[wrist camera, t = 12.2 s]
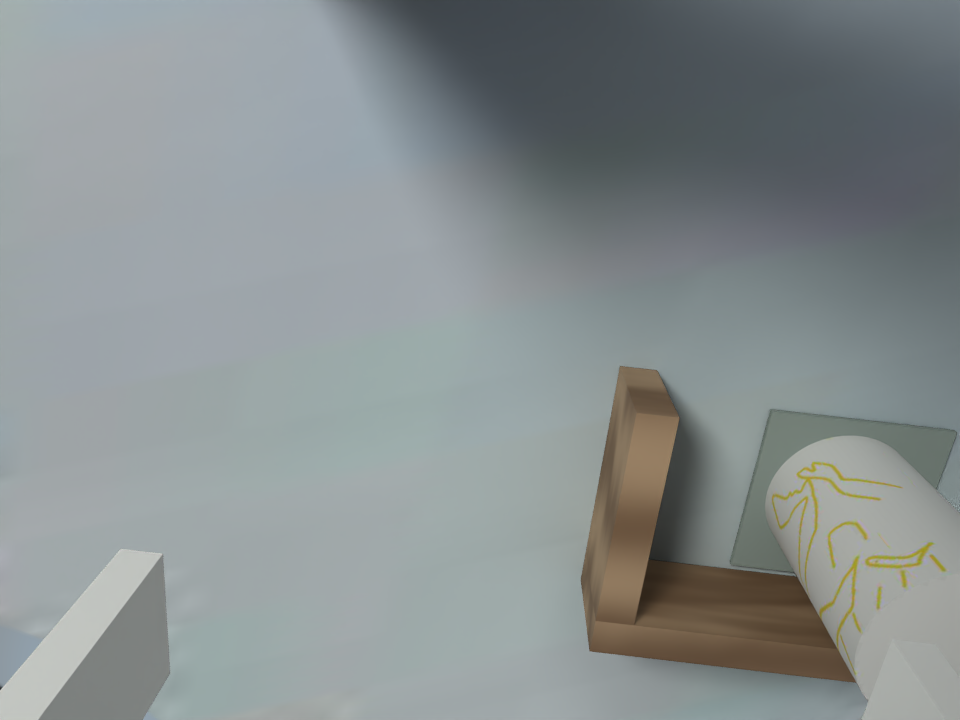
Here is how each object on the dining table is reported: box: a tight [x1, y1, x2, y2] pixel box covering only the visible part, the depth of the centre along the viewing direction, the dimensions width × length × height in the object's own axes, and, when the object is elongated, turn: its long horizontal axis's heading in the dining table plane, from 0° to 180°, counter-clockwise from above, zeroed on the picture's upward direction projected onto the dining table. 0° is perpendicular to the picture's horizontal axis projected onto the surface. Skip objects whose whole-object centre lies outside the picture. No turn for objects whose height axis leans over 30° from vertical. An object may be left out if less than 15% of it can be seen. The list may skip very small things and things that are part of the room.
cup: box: [765, 436, 960, 701], centre depth 36 cm, size 8×8×12 cm
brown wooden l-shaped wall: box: [581, 366, 856, 683], centre depth 39 cm, size 14×20×6 cm
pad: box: [730, 409, 957, 572], centre depth 42 cm, size 10×10×1 cm
